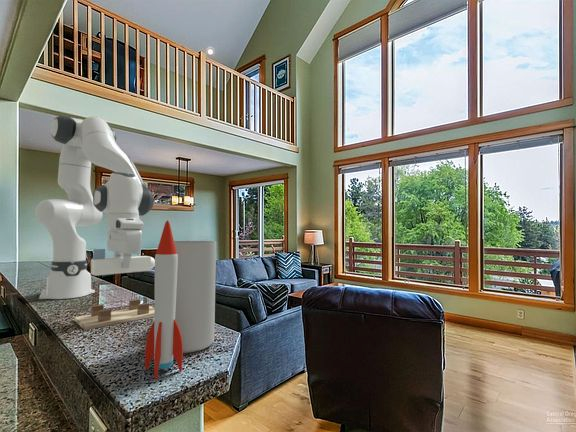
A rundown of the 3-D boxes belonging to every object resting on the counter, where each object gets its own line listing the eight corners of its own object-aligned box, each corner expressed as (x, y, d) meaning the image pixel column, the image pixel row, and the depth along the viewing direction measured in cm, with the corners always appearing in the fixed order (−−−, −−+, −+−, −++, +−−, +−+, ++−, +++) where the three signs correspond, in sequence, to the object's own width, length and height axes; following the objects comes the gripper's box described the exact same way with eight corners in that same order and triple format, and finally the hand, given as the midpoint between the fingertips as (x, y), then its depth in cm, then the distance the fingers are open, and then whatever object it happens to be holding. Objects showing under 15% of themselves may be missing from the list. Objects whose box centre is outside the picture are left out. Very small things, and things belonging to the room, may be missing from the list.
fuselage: (90, 273, 95) (91, 249, 96) (151, 268, 108) (152, 246, 109) (95, 275, 92) (95, 249, 93) (157, 270, 105) (157, 247, 105)
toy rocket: (182, 371, 63) (187, 220, 64) (154, 380, 59) (160, 220, 60) (171, 362, 67) (176, 221, 68) (143, 370, 63) (149, 220, 64)
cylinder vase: (213, 333, 85) (215, 240, 86) (215, 351, 73) (217, 243, 74) (163, 337, 82) (166, 240, 83) (157, 356, 70) (160, 243, 71)
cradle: (74, 320, 95) (74, 307, 96) (148, 308, 111) (148, 296, 111) (84, 329, 87) (84, 315, 87) (163, 314, 103) (163, 302, 103)
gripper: (102, 223, 105) (101, 264, 105) (123, 222, 91) (122, 271, 90) (122, 223, 110) (121, 263, 109) (146, 223, 95) (144, 269, 95)
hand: (122, 267), depth 100 cm, fingers closed on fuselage, 4 cm apart
